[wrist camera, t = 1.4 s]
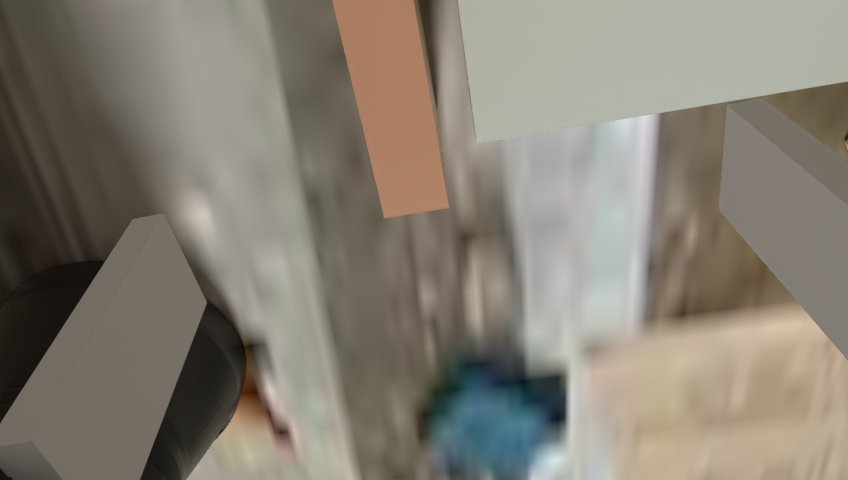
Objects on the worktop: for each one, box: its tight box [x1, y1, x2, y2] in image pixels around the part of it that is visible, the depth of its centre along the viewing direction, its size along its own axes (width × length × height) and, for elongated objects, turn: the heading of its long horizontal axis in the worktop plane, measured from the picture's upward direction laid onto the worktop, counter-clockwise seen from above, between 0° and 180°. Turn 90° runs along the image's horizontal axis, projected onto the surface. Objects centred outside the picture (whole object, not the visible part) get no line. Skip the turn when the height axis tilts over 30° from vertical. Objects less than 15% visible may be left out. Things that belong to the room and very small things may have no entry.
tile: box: [332, 0, 449, 218], centre depth 26 cm, size 2×10×10 cm, turn 10°
